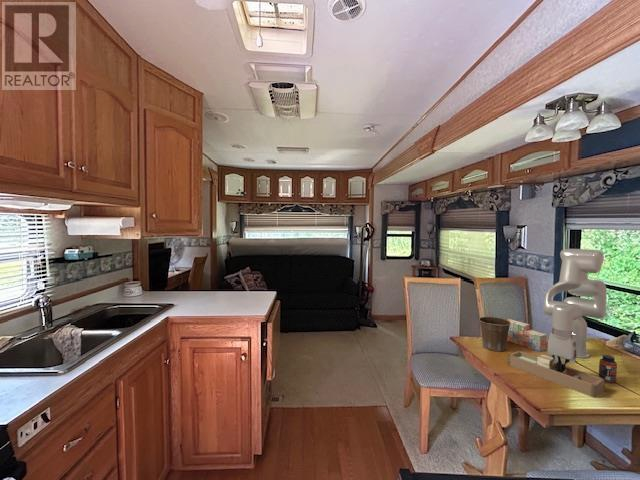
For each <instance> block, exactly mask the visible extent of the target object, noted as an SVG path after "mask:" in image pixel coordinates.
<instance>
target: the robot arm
mask: <svg viewBox="0 0 640 480" xmlns="http://www.w3.org/2000/svg"><path fill="white" fill-rule="evenodd" d="M559 256H560V259H561V267H560V273H559V281H558V282H556V283H555V284H553V285H552V286H551V287H550V288H549V289H548V290H547V291H546V292H545V296H544V301H543V302H544V303H543V312H544V313H545V315H548V316H550V317H551V316H552V317H551V319H552V320H551V332H550V333H549V336H548V341H547V346H546V349H547V353H546V354H547V355H548V356H549V357H551V358H554V362H555V363H556V368H557V371H560V372H563V371H565V367H566V366H567V364H568V363H573V364H575V363H577V361H576V358H578V359H579V358H580V359H588V358H590V357H591V356H590V355H591V354H590V353H589V352H588V351H587V338H588V337H587V334H588V323H587V321H586V319H585V318H584V317H588V318H594V319H603V318H604V317H605V316H606V313H607V286H606V283H605V282H604V281H602V280H598V279H597V280H596V279H589V278H588V275H589V274H598V273H599V272H600V271H601V269H602V266H603V264H604V260H605V256H604V253H603V252H602V251H601V250H600V249H588V248H587V249H583V248H565V249H564V248H563V249H562V250H561V251H560V252H559ZM566 291H567V293H568V294H570V295H573V296H568V297H566V298H564V299H563V301H559V300H553V299H554V297H555V296H556V295H558V294H559V293H563V292H566ZM590 298H591V299H590Z"/></svg>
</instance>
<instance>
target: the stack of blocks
mask: <svg viewBox="0 0 640 480" xmlns="http://www.w3.org/2000/svg"><path fill="white" fill-rule="evenodd" d="M507 320H508V321H510V322H511V324H510V327H509V330H508V338H507V342H511V343H512V344H513V343H514V344H515V345H520V346H522V347H525V348H528V349H529V350H530V349H531V350H534V351H536V352H539V353H541V352H543V351H546V349H547V333H542V332H540V331H538V330H537V331H535V330H533V329H531V325H530V324H529V323H525V322H523V321H517V320H514V319H511V318H508V319H507Z"/></svg>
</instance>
